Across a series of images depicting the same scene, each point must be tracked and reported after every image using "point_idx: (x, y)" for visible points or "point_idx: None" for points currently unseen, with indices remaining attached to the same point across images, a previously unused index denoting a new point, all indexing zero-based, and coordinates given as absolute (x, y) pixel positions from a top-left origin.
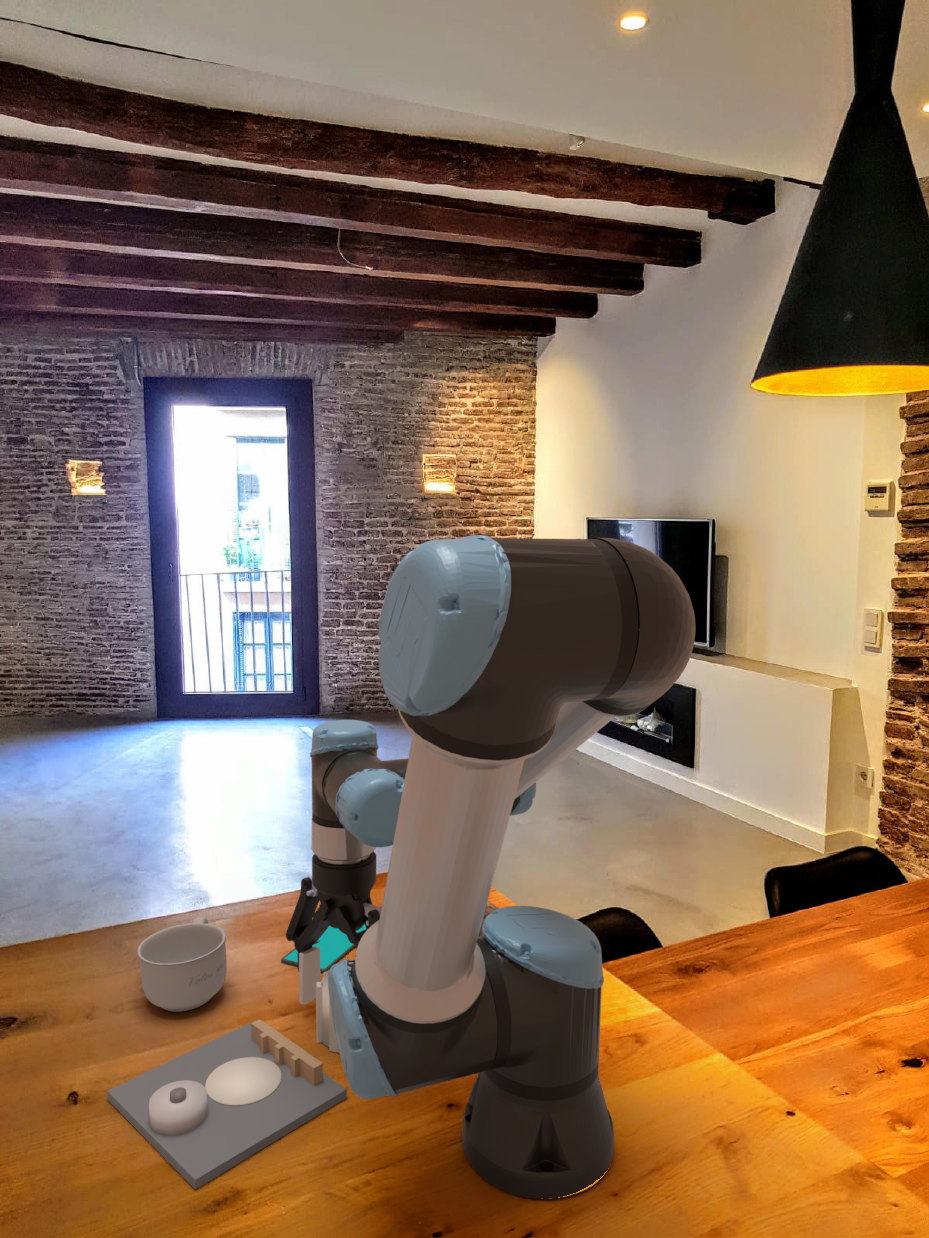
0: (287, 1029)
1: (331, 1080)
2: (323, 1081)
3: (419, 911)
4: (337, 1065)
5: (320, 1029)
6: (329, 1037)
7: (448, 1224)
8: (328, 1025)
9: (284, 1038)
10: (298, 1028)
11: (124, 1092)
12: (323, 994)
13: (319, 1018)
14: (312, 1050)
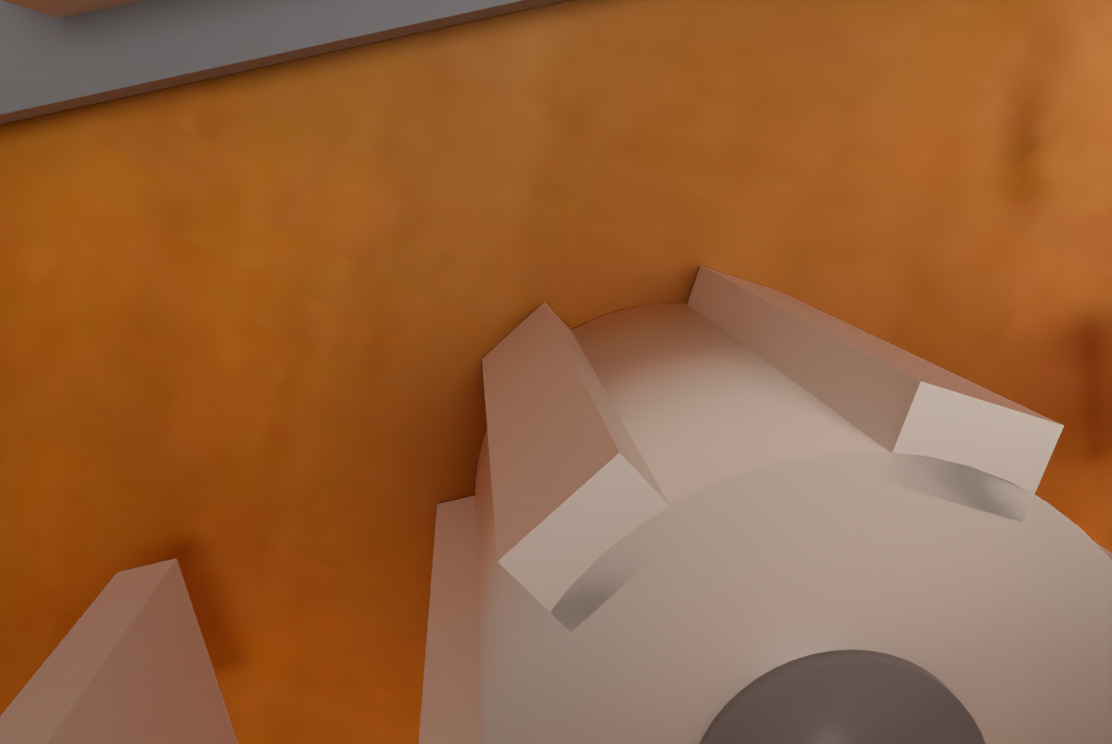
0: (1020, 130)
1: (17, 85)
2: (47, 18)
3: None
4: (333, 274)
5: (719, 306)
6: (555, 322)
7: None
8: (625, 357)
9: None
10: (975, 216)
11: None
12: (810, 423)
13: (753, 317)
14: (632, 185)
